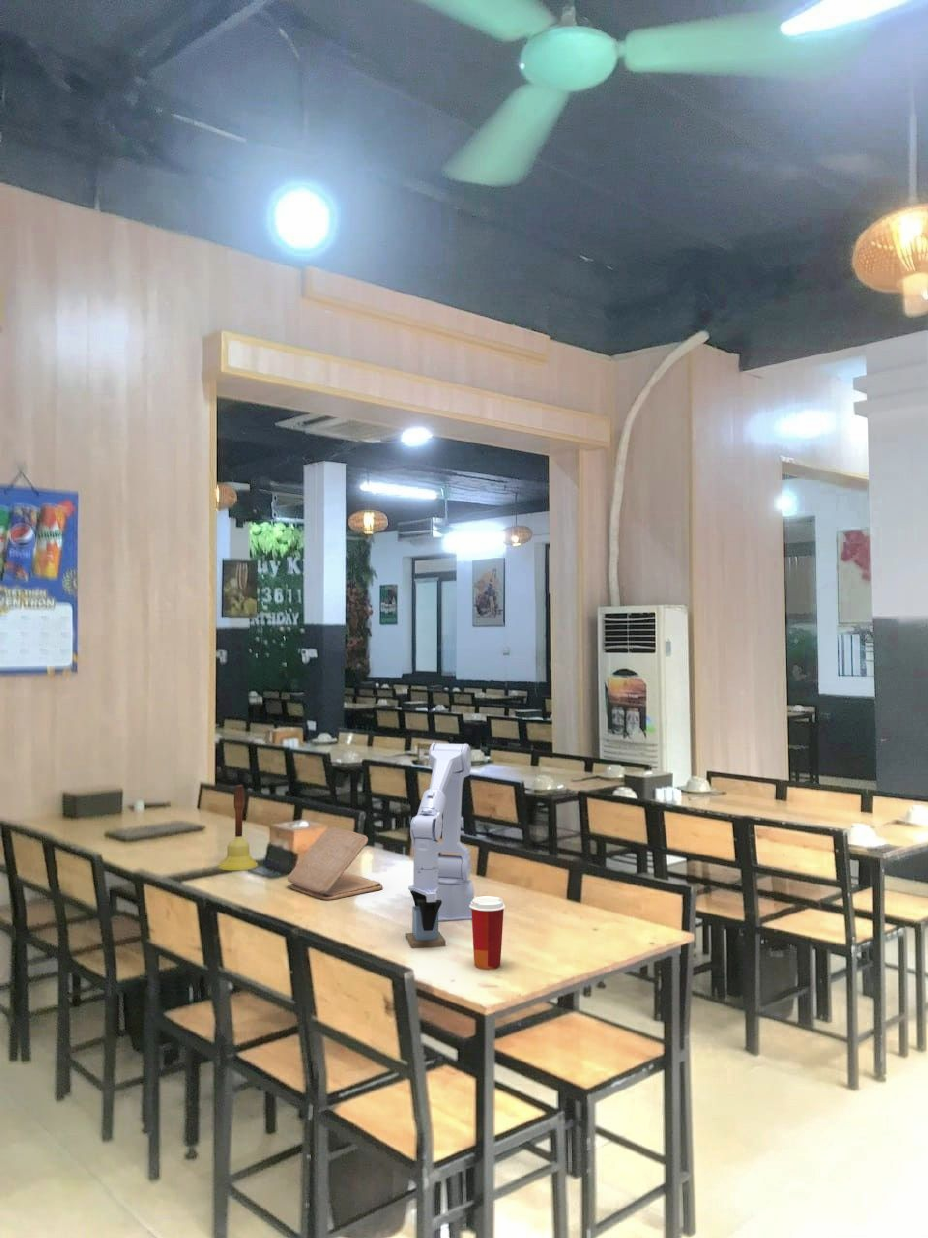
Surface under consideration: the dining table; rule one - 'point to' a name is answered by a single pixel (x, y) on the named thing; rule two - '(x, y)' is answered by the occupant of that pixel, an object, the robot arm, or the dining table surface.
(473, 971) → the dining table surface
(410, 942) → the board
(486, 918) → the paper cup
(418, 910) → the blue-grey block
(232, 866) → the handbell
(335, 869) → the case
